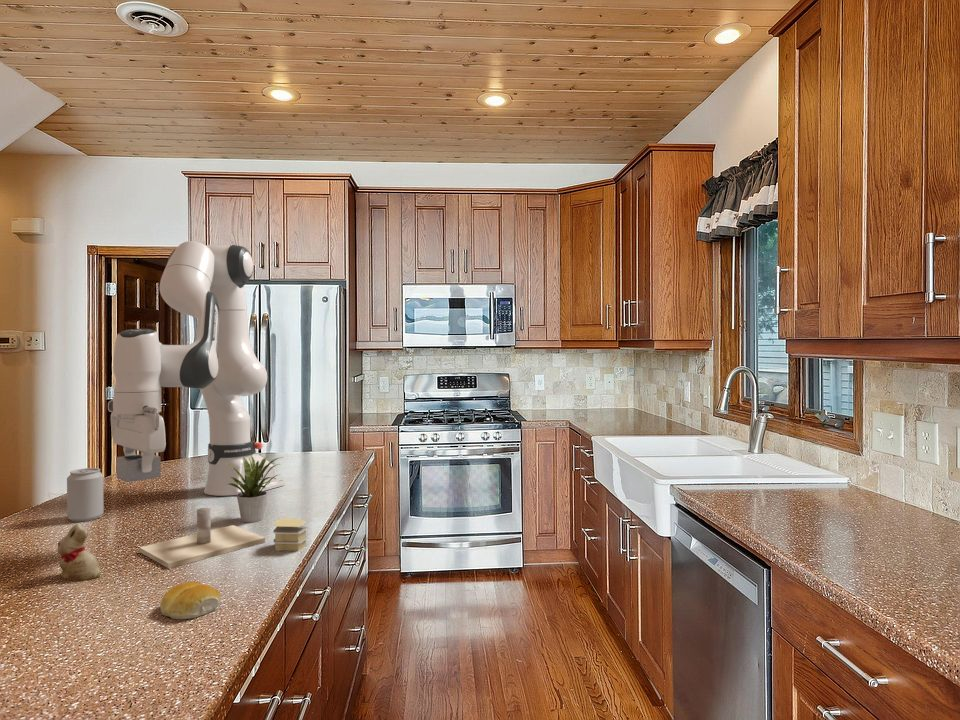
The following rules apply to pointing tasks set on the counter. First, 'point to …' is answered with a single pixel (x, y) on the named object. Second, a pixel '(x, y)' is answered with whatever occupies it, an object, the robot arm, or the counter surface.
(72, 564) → the chocolate bunny
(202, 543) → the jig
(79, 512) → the can
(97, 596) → the counter surface
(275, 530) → the stacked food containers
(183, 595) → the bread roll
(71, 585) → the counter surface
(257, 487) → the house plant
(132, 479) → the hollow square tube
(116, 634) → the counter surface
